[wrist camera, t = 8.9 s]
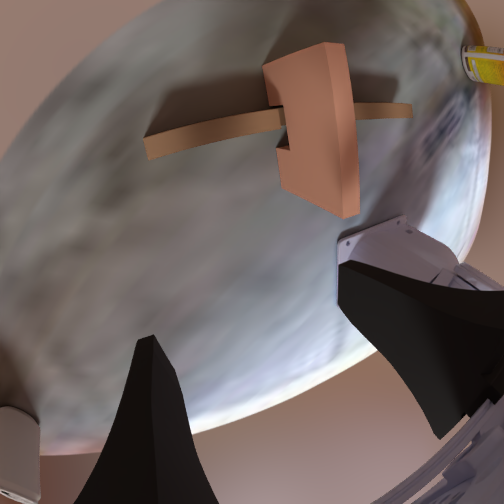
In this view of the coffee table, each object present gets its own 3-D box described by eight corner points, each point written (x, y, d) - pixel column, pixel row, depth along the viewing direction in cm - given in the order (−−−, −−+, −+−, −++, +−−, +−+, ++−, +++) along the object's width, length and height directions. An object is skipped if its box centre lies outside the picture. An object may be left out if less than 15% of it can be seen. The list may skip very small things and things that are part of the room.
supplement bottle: (474, 87, 23) (532, 99, 14) (459, 68, 21) (524, 77, 12) (475, 58, 21) (530, 66, 12) (459, 37, 19) (521, 43, 10)
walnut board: (386, 102, 19) (411, 104, 17) (387, 115, 20) (412, 117, 17) (143, 137, 15) (142, 138, 12) (148, 155, 15) (148, 160, 13)
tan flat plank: (262, 65, 15) (324, 42, 9) (278, 64, 15) (343, 44, 9) (281, 187, 19) (343, 219, 14) (296, 184, 20) (359, 213, 14)
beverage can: (-8, 396, 16) (-19, 480, 6) (36, 411, 19) (34, 500, 9) (4, 421, 18) (0, 496, 8) (44, 434, 21) (46, 511, 11)
